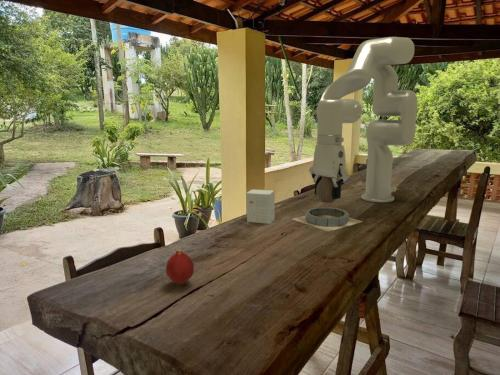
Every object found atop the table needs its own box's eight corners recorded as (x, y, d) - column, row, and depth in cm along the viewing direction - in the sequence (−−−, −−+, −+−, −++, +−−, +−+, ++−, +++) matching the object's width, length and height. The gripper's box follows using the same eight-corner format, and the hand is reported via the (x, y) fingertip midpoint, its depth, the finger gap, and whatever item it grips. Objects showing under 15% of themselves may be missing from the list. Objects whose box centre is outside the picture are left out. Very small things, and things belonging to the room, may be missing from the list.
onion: (169, 278, 79) (166, 244, 77) (195, 277, 79) (193, 243, 78) (165, 291, 73) (162, 255, 71) (193, 290, 74) (191, 254, 72)
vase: (338, 204, 110) (339, 176, 109) (315, 203, 112) (316, 176, 110) (337, 199, 117) (338, 173, 115) (316, 198, 118) (317, 172, 117)
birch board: (325, 212, 127) (325, 210, 127) (362, 223, 114) (362, 221, 114) (291, 221, 118) (291, 218, 118) (327, 234, 105) (327, 231, 105)
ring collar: (325, 212, 125) (326, 205, 125) (356, 221, 114) (357, 213, 114) (297, 219, 118) (297, 211, 117) (327, 229, 107) (327, 221, 106)
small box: (274, 221, 118) (274, 190, 116) (270, 226, 113) (270, 194, 111) (252, 219, 121) (251, 188, 119) (246, 224, 116) (246, 192, 114)
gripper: (360, 141, 106) (356, 200, 109) (317, 138, 120) (316, 190, 123) (343, 143, 101) (340, 203, 105) (301, 139, 115) (300, 193, 119)
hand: (327, 196), depth 114 cm, fingers closed on vase, 6 cm apart
